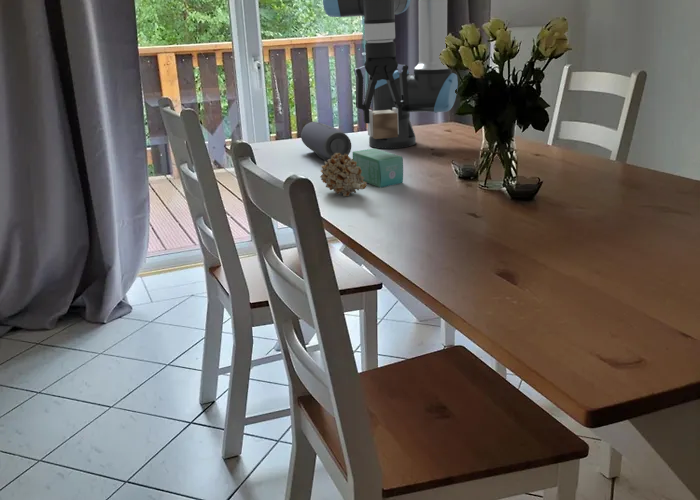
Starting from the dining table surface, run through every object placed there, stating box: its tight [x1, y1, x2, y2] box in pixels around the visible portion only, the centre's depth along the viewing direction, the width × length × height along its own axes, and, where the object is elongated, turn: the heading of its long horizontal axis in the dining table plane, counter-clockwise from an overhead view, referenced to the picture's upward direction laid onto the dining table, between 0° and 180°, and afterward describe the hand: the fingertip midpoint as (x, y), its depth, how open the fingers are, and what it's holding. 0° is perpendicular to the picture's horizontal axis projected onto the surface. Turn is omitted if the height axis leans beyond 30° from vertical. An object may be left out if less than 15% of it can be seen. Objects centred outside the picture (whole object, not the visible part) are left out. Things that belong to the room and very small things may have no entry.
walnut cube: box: [372, 110, 398, 139], centre depth 179 cm, size 6×6×6 cm
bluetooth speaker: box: [300, 121, 352, 162], centre depth 212 cm, size 23×9×10 cm, turn 22°
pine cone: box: [319, 153, 368, 197], centre depth 169 cm, size 22×10×10 cm, turn 28°
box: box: [352, 147, 404, 189], centre depth 182 cm, size 7×14×8 cm, turn 31°
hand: (383, 134), depth 180 cm, fingers closed on walnut cube, 6 cm apart
